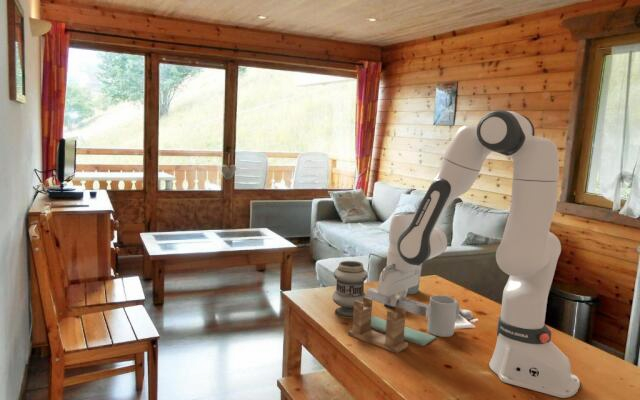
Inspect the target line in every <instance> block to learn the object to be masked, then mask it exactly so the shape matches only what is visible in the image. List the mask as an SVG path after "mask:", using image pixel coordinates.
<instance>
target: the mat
mask: <svg viewBox="0 0 640 400" xmlns="http://www.w3.org/2000/svg"><path fill="white" fill-rule="evenodd" d="M386 321H387V319H384V318H381V317H378V316H375V315H371V329H374V330H377V331H379V332H383V333H384V334H386ZM404 340H405V341H408V342H410V343H413V344H416V345H419V346H421V347H424V346H426V345H427V344H429V343H431V342H433V341H434V340H436V335H433V334H429V333H426V332H422V331H419V330H416V329H414V328H411V327H407V326H405V328H404Z"/></svg>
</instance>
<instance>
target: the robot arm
mask: <svg viewBox="0 0 640 400" xmlns="http://www.w3.org/2000/svg"><path fill="white" fill-rule="evenodd" d="M534 126H535V125H534V124H533V122H532V121H531V119H529V117H527V116H525V115H523V114H521V113H520V114H519V113H518V112H515V111H512V110H503V109H497V110H493V111H490V112H488V113H486V114H485V115H484V116H483V117H482V118H481V119H480V120H479V122H478V124H477V125H474V124H467V125H466V124H465V125H462V126H461V127H459V128H458V129H457V130H456V132H455V133H454V135H453V137H452V138H451V140H450V142H449V143H448V146H447V148H446V149H445V151H444V153H443V156H442V159H441V162H440V163H439V164H440V165H439V166H438V167H437V168H438V169H437V171H436V173H435V175H434V178H433V179H432V182H431V184H430V186H429V187H428V189H427V191H426V193H425V194H424V197H423V198H422V201H421V203H420V205H419V206H418V209H417V211H416V212H415V211H402V212H397V213H395V214H393V216H392V217H391V220H390V225H389V231H388V233H389V234H388V241H389V244H388V245H389V247H388V249H387V256H386V266H385V267H384V268H383V270H381V272H380V274H379V277H378V284H377V285H378V286H377V289H378V294H379V295H381V296H384V297H390V299H391V303H390V304H391V305H392V306H396V305H397V304H398V300H396V296H397V293H398V292H400V295H399V296H401V297H405V298H406V296H407V292H408V288H411V287H413V286H415V285H417V284H418V283H419V284H420V282H419V280H420V281H421V275H420V273H421V274H422V270H421V266H420V265H422V266H423V263H425V262H426V261H427V260H431V259H434V258H435V257H437V256H440V255H441V254H443V253H444V252H445V251H446V250H447V246H448V237H447V234H446V232H445V231H444V230H443V228H441V227H438V226H437V223H438V222H439V219H440V217H441V215H442V213H443V212H444V211H445V209H446V207H447V206H448V205H449V204H450V203H452V202H453V201H454V200H455V199H457V198H459V197H460V196H462V195H464V194H465V193H467V192H468V191H469V190H470V189H471V188H472V186H473V185H474V183H475V182H476V180H477V179H478V176H479V174H480V172H481V170H482V168H483V164H484V162H485V161H486V158H487V157H488V155H489V154H492V152H493V153H498V154H500V155H503V156H506V157H510V158H511V159H512V163H513V170H512V171H513V172H512V183H511V196H510V207H509V212H508V216H507V221H506V223H505V227H504V230H503V234H502V239H501V241H500V244H499V245H498V247H497V248H496V252H495V261H496V263H497V266H498V268H499V269H500V270H501V271H502V272H503V273H504V274H507V275H508V276H509V277H508V280H507V282H506V284H505V286H504V289H503V291H502V299H501V300H502V301H501V310H500V316H499V317H498V321H497V328H496V336H497V339H496V342H495V343H496V344H495V348H494V349H493V350H494V351H493V354H492V356H491V359H490V361H489V365H488V366H489V368H490V370H492V372H494V373H495V374H496V375H497V376H498V378H499V379H500V381H501V382H503V383H506V384H509V385H514V386H517V387H520V388H525V389H528V390H531V391H535V392H539V393H543V394H546V395H549V396H554V397H557V398H560V399H565V398H566V399H567V398H570V397H573V396H574V395H575V394H577V392H578V391H579V390H580V386H581V385H580V382H581V381H580V379H579V378H578V376H577V375H575V374H574V373H573V374H572V367H571V361H570V359H569V358H568V357H569V356H567V355H566V354H565V353H563V351H562V350H561V349H560V348H559V347H558V346H557V345H555V344H554V343H553V342H552V340H551V339H552V334H553V328H550V329H549V328H548V327H547V326H546V324H545V321H546V313H547V304H548V297H549V294H550V290H551V287H552V284H553V279H554V276H555V271H556V269H557V268H556V267H557V263H558V260H559V257H560V255H561V252H562V244H561V241H560V240H559V238H558V236H556V235H555V234H554V233H553V232H551V231H550V228H551V224H552V221H553V219H554V217H555V214H556V211H557V203H558V192H559V178H560V163H559V162H560V159H559V152H558V151H559V150H558V147H557V144H556V143H555V141H553V140H552V139H549V138H547V137H543V136H535V134H536V133H535V127H534ZM578 389H579V390H578Z"/></svg>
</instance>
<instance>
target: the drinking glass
mask: <svg viewBox="0 0 640 400" xmlns="http://www.w3.org/2000/svg"><path fill="white" fill-rule="evenodd" d="M420 266H421V271H422V269H423V264H422V265H420ZM421 275H422V272H421V273H420V276H421ZM420 282H421V279H420V280H419V283H418V284H417V285H415V286H413V287H411V288H408V292H407V294H408V295H414V294H418V293H419V290H420V289H419V288H420ZM407 294H406V295H407Z"/></svg>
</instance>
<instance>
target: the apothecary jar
mask: <svg viewBox="0 0 640 400" xmlns="http://www.w3.org/2000/svg"><path fill="white" fill-rule="evenodd" d="M368 275H369V274H368V272H367V271H366V270H365V269H364V264H363V263H362V262H360V261H355V260H343V261H340V262H339V263H338V267H337V268H335V270H334V271H333V277H334V278H335V280H336V288H335V291H334V292H333V293H332V297H331V298H332V301H333V303H334V304H336V305H337V306H339V307H337V308H336V309H335V310H334V314H336V315H337V316H338V317H339V318H344V319H353V313H354V301H355V300H357V301H360V302H363V297H366V296H367V293H365V292H364V289H365V288H364V284H365V283H364V282H365V281H366V280H367V279H368Z"/></svg>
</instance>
